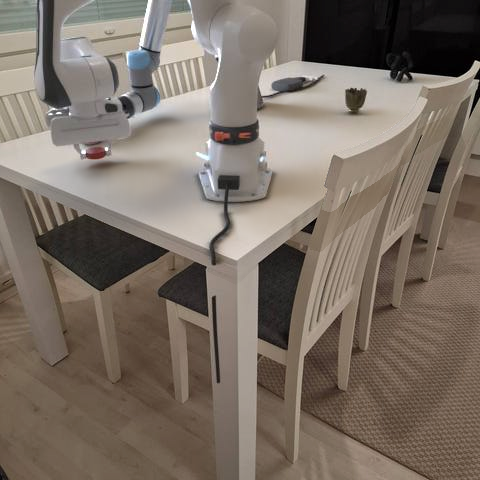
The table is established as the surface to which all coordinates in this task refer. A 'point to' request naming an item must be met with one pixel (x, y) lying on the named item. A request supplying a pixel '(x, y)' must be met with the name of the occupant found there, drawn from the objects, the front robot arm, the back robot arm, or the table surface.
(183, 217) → the table surface
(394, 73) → the squiggle
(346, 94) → the olive tapered piece
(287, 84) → the spray bottle
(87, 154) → the lid
